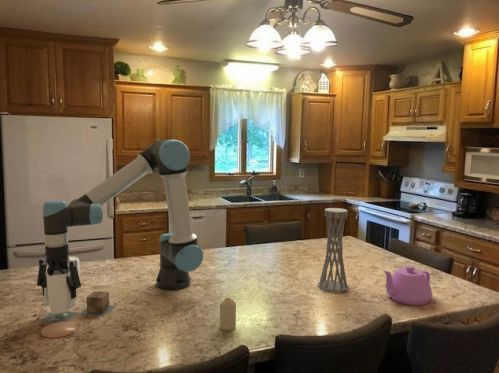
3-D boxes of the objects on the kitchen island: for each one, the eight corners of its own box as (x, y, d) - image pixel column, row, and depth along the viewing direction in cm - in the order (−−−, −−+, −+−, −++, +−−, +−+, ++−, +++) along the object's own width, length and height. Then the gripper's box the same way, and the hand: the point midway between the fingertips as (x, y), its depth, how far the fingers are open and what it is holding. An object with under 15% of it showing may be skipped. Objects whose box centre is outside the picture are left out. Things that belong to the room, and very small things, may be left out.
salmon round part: (84, 324, 142) (84, 323, 142) (63, 339, 132) (63, 337, 132) (56, 321, 145) (56, 319, 145) (33, 335, 134) (33, 333, 134)
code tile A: (79, 313, 152) (79, 312, 152) (62, 325, 143) (62, 324, 143) (56, 311, 154) (56, 309, 154) (37, 322, 145) (37, 321, 145)
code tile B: (117, 307, 159) (117, 306, 159) (102, 317, 149) (102, 316, 149) (94, 304, 161) (94, 303, 161) (78, 314, 151) (78, 313, 151)
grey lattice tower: (354, 287, 184) (357, 210, 180) (338, 295, 174) (341, 213, 171) (328, 280, 193) (330, 206, 190) (311, 287, 184) (314, 209, 180)
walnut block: (109, 306, 158) (108, 291, 157) (102, 313, 152) (102, 297, 151) (93, 306, 158) (93, 291, 158) (86, 312, 152) (86, 297, 152)
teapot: (413, 288, 185) (415, 258, 183) (445, 302, 168) (448, 270, 167) (368, 295, 175) (369, 263, 174) (397, 311, 159) (399, 276, 157)
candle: (219, 323, 145) (219, 296, 144) (235, 323, 145) (235, 296, 144) (219, 331, 140) (220, 302, 138) (236, 330, 140) (236, 302, 139)
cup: (50, 318, 144) (48, 276, 142) (48, 310, 150) (45, 271, 148) (73, 313, 147) (70, 273, 146) (69, 306, 154) (67, 267, 152)
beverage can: (72, 289, 176) (71, 261, 175) (55, 287, 178) (55, 260, 177) (83, 282, 184) (83, 256, 183) (67, 281, 186) (66, 255, 185)
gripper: (90, 243, 147) (93, 304, 150) (37, 240, 152) (41, 299, 154) (77, 249, 140) (80, 312, 142) (22, 245, 144) (26, 307, 147)
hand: (60, 305), depth 148 cm, fingers closed on cup, 9 cm apart
